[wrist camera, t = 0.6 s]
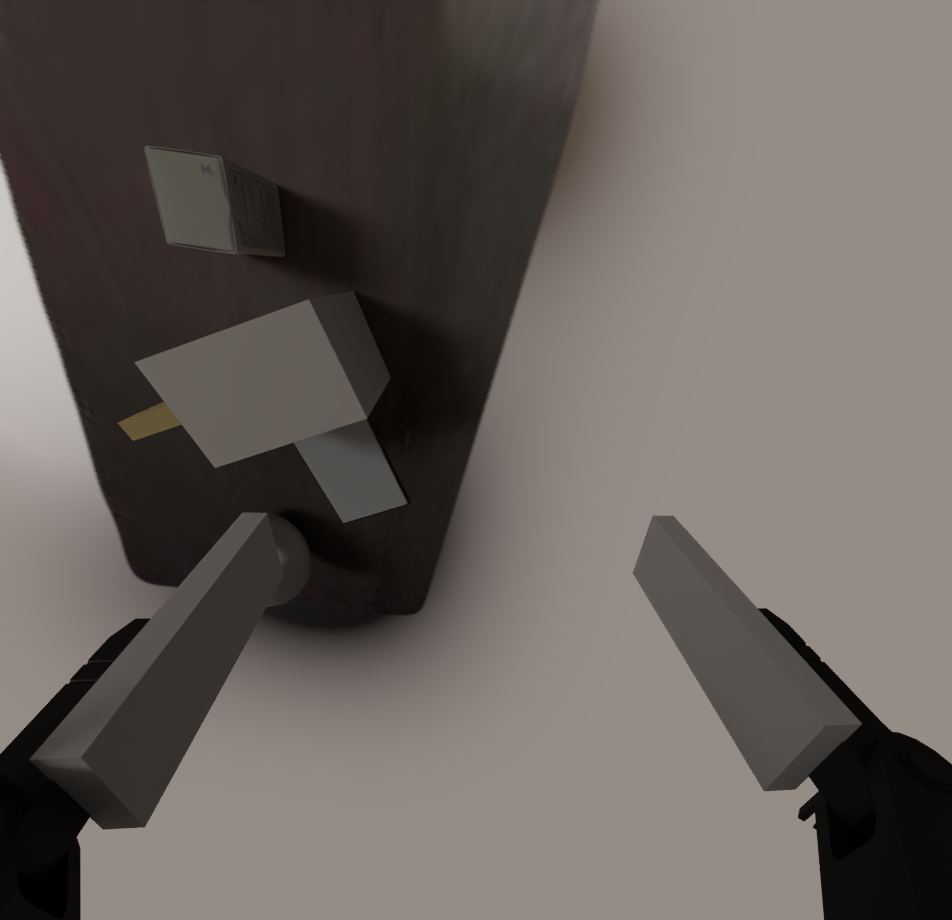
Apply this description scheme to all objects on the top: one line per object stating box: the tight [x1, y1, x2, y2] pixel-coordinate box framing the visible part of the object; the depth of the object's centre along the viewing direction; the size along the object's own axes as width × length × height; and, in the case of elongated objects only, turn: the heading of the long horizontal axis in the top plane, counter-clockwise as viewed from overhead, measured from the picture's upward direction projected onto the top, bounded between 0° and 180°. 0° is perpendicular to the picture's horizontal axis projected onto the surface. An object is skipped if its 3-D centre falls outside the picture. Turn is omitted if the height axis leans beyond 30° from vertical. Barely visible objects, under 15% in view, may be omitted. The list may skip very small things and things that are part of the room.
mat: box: [294, 419, 408, 523], centre depth 39 cm, size 12×8×1 cm, turn 17°
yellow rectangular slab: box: [118, 402, 181, 441], centre depth 31 cm, size 2×11×8 cm, turn 107°
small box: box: [145, 146, 285, 257], centre depth 25 cm, size 5×4×8 cm
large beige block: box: [135, 291, 391, 468], centre depth 29 cm, size 8×13×11 cm, turn 107°
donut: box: [267, 514, 311, 607], centre depth 38 cm, size 10×3×10 cm, turn 29°
